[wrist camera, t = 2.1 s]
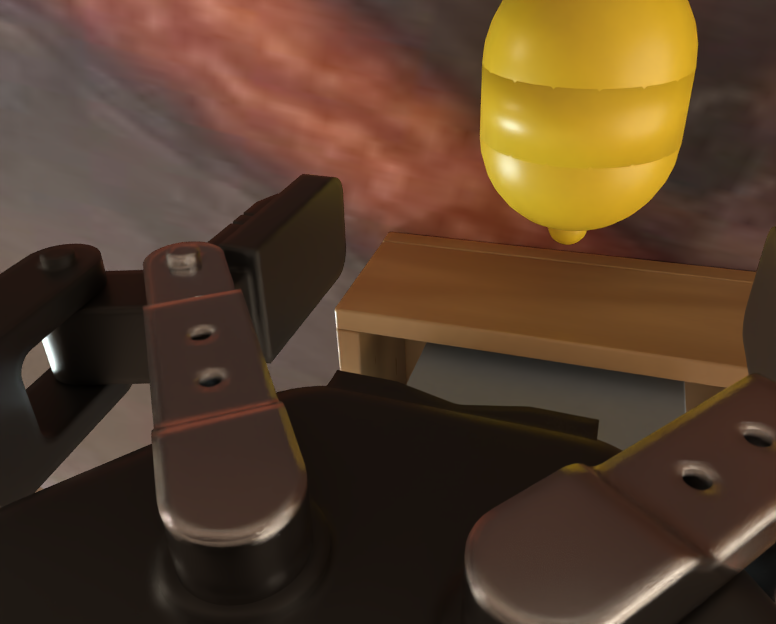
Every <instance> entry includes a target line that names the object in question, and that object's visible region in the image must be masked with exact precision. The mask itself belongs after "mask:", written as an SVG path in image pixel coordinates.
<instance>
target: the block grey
mask: <svg viewBox="0 0 776 624" xmlns="http://www.w3.org/2000/svg"><path fill="white" fill-rule="evenodd" d="M406 385H408V386H411V387H413V388H416V389H418V390H421V391H423V392H426V393H429V394H431V395H434V396H436V397H439V398H442V399H444V400H447V401H449V402H452V403H455V404H461V405H491V406H530V407H535V408H541V409H546V410H551V411H556V412H562V413H567V414H572V415H577V416H583V417H588V418H593V419H599V427H598V436H597V439H599V440H601V441H604V442H606V443H609V444H611V445H613V446H615V447H617V448H619V449H621V450H625V449H627V448H628V447H630V446H632V445H633V444H635V443H637V442H638V441H640V440H642V439H643V438H645V437H646V436H648V435H650V434H651V433H653V432H655V431H656V430H658V429H660V428H661V427H663V426H665V425H666V424H668V423H670V422H671V421H673V420H675V419H676V418H678V417H680V416H681V415H683V414H685V413H686V400H685V382H684V381H678V380H671V379H665V378H658V377H652V376H645V375H638V374H632V373H625V372H619V371H612V370H606V369H599V368H593V367H586V366H580V365H573V364H566V363H560V362H553V361H547V360H540V359H534V358H527V357H521V356H514V355H508V354H501V353H495V352H488V351H481V350H475V349H468V348H462V347H455V346H449V345H442V344H436V343H429V342H427V343H426V345H425V347H424V349H423V351H422V353H421V355H420V357H419V359H418V361H417V363H416V366H415V368H414V370H413V372H412V374H411V376H410V378H409V380H408V382H407V384H406Z"/></svg>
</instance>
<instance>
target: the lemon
mask: <svg viewBox="0 0 776 624" xmlns="http://www.w3.org/2000/svg"><path fill="white" fill-rule="evenodd" d="M697 51H698V38H697V30H696V21H695V19H694V16H693V13H692V10H691V7H690V4H689V1H688V0H503V1H502V3H501V4H500V6H499V8H498V10H497V12H496V14H495V15H494V17H493V19H492V22H491V25H490V28H489V31H488V34H487V37H486V40H485V45H484V53H483V60H482V89H481V118H480V144H481V153H482V157H483V160H484V164H485V167H486V171H487V175H488V176H489V178H490V180H491V182H492V184H493V186H494V188H495V189H496V191H497V192H498V193H499V194H500V196H501V197H502V198H503V199H504V200H505V201H506V202H507V204H508V205H509V206H510V207H511V208H513V209H514V210H515V211H517V212H518V213H519V214H521V215H522V216H524V217H525V218H527V219H528V220H530V221H532V222H534V223H537V224H539V225H542V226H546V227H548V230H549V233H550V235H551V237H552V238H553V239H554V240H555V241H557V242H558V243H561V244H565V245H570V244H574V243H577V242H578V241H580V240H581V239H582V238H583V237H584V236H585V234H586V232H587V230H593V229H598V228H603V227H606V226H609V225H612V224H614V223H616V222H618V221H621V220H623V219H625V218H627V217H629V216H630V215H632V214H634V213H635V212H636V211H638V210H639V209H640V208H641V207H643V206H644V205H645V204H647V203H648V202H649V201H650V200H651V199H652V197H653V196H654V195H655V194H656V193H657V192H658V190H659V189H660V188H661V187H662V186H663V185H664V183H665V182H666V180H667V178H668V176H669V175H670V173H671V171H672V169H673V167H674V166H675V162H676V159H677V156H678V152H679V149H680V146H681V143H682V138H683V133H684V128H685V122H686V117H687V112H688V107H689V102H690V96H691V91H692V86H693V81H694V75H695V70H696V62H697Z"/></svg>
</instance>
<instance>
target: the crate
mask: <svg viewBox="0 0 776 624" xmlns="http://www.w3.org/2000/svg"><path fill="white" fill-rule="evenodd" d="M755 275H756V272H752V271H743V270H733V269H724V268H715V267H706V266H697V265H688V264H679V263H670V262H660V261H651V260H642V259H633V258H624V257H615V256H606V255H597V254H587V253H578V252H569V251H560V250H551V249H542V248H533V247H524V246H514V245H505V244H496V243H487V242H478V241H469V240H460V239H451V238H441V237H432V236H423V235H414V234H405V233H396V232H389V233H388V234H387V236H386V237H385V239H384V240H383V242H382V243H381V245H380V246H379V248H378V249H377V250H376V252H375V253H374V255H373V256H372V257H371V259H370V260H369V262H368V263H367V264H366V266H365V267H364V269H363V270H362V271H361V273H360V274H359V276H358V277H357V278H356V280H355V281H354V283H353V284H352V285H351V287H350V288H349V290H348V291H347V292H346V294H345V295H344V297H343V298H342V299H341V301H340V302H339V304H338V305H337V306H336V308H335V319H336V327H337V330H336V331H337V342H338V354H339V365H340V371H346V372H351V373H356V374H361V375H367V376H372V377H377V378H383V379H388V380H393V381H398V382H400V383H403V384H405V385H406V384H407V382H408V380H409V378H410V376H411V374H412V372H413V370H414V368H415V366H416V363H417V361H418V359H419V357H420V355H421V353H422V351H423V349H424V347H425V345H426V343H427V342H429V343H436V344H442V345H449V346H455V347H462V348H468V349H475V350H481V351H488V352H495V353H501V354H508V355H514V356H521V357H527V358H534V359H540V360H547V361H553V362H560V363H566V364H573V365H580V366H586V367H593V368H599V369H606V370H612V371H619V372H625V373H632V374H638V375H645V376H652V377H658V378H665V379H671V380H678V381H684V382H685V400H686V412H688V411H690V410H691V409H693V408H695V407H696V406H698V405H700V404H701V403H703V402H704V401H706V400H708V399H709V398H711V397H713V396H714V395H716V394H718V393H719V392H721V391H723V390H724V389H726V388H728V387H729V386H731V385H733V384H734V383H736V382H738V381H739V380H741V379H743V378H744V377H746V376H748V375H749V374H748V368H747V362H746V356H745V350H744V344H743V335H742V332H743V321H744V315H745V310H746V306H747V302H748V299H749V295H750V292H751V289H752V285H753V282H754V278H755Z"/></svg>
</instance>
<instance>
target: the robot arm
mask: <svg viewBox="0 0 776 624" xmlns="http://www.w3.org/2000/svg"><path fill="white" fill-rule="evenodd" d="M345 256H346V241H345V222H344V202H343V189H342V184H341V182H340V180H339V179H338V178H336V177H327V176H318V175H309V174H302V175H300V176H299V177H298V178H297V179H296V180H295V181H293V182H292V183H291V184H290V185H289V186H287V187H286V188H285V189H284V190H283V191H282V192H280V193H279V194H275V195H273V196H270V197H268V198H265V199H263V200H261V201H258V202H256V203H255V204H254V205H253V206H251V207H250V208H249V209H248V210H246V211H245V212H244V215H240V216H239V217H238V218H237V219H235V220H234V221H233V224H229V225H228V226H227V227H226V228H225V229H223V230H222V231H221V232H220V233H218V234H217V235H216V236H215V237H214V238H212V239H211V240H210V241H209V242H208V243H206V242H181V243H176V244H171V245H168V246H165V247H162V248H160V249H157V250H155V251H154V252H152V253H151V254H149V255H148V256H147V257H146V258H145V260H144V262H143V270H129V271H105V268H104V264H103V260H102V256H101V253H100V251H99V250H98V249H97V248H95V247H93V246H90V245H85V244H64V245H57V246H53V247H49V248H45V249H42V250H39V251H37V252H35V253H32V254H30V255H29V256H27V257H25V258H24V259H22V260H21V261H19V262H18V263H16V264H15V265H13V266H12V267H10V268H9V269H7V270H6V271H4V272H3V273H1V274H0V624H776V226H773V227H772V228H771V230H770V231H769V234H768V236H767V239H766V242H765V245H764V248H763V252H762V255H761V258H760V262H759V265H758V268H757V272H756V275H755V278H754V282H753V285H752V289H751V292H750V295H749V299H748V302H747V306H746V310H745V315H744V321H743V332H742V335H743V344H744V350H745V356H746V362H747V368H748V374H749V375H748V376H746V377H744V378H743V379H741V380H739V381H738V382H736V383H734V384H733V385H731V386H729V387H728V388H726V389H724V390H723V391H721V392H719V393H718V394H716V395H714V396H713V397H711V398H709V399H708V400H706V401H704V402H703V403H701V404H700V405H698V406H696V407H695V408H693V409H691V410H690V411H688V412H686V413H685V414H683V415H681V416H680V417H678V418H676V419H675V420H673V421H671V422H670V423H668V424H666V425H665V426H663V427H661V428H660V429H658V430H656V431H655V432H653V433H651V434H650V435H648V436H646V437H645V438H643V439H642V440H640V441H638V442H637V443H635V444H633V445H632V446H630V447H628V448H627V449H625V450H621V449H619V448H617V447H615V446H613V445H611V444H609V443H606V442H604V441H601V440H599V439H597V436H598V427H599V419H593V418H588V417H583V416H577V415H572V414H567V413H562V412H556V411H551V410H546V409H541V408H535V407H530V406H491V405H461V404H455V403H452V402H449V401H447V400H444V399H442V398H439V397H436V396H434V395H431V394H429V393H426V392H423V391H421V390H418V389H416V388H413V387H411V386H408V385H405V384H403V383H400V382H398V381H393V380H388V379H383V378H377V377H372V376H367V375H361V374H356V373H351V372H346V371H340V370H337V372H336V373H335V375H334V376H333V378H332V379H331V381H330V382H329V384H328V385H327V386H312V387H302V388H295V389H290V390H285V391H281V392H277V393H276V391H275V388H274V385H273V382H272V379H271V376H270V373H269V370H268V367H267V365H266V363H271V362H272V361H273V360H274V358H275V357H276V356H277V355H278V353H279V352H280V351H281V350H282V348H283V347H284V346H285V345H286V343H287V342H288V341H289V339H290V338H291V337H292V336H293V334H294V333H295V332H296V331H297V329H298V328H299V327H300V326H301V324H302V323H303V322H304V321H305V319H306V318H307V317H308V316H309V314H310V313H311V312H312V310H313V309H314V308H315V307H316V305H317V304H318V303H319V302H320V300H321V299H322V298H323V297H324V295H325V294H326V293H327V292H328V290H329V289H330V288H331V287H332V285H333V284H334V283H335V282H336V280H337V279H338V278H339V276H340V274H341V272H342V270H343V266H344V262H345ZM41 341H42V342H43V345H44V348H45V351H46V354H47V357H48V360H49V363H50V366H51V368H49V369H48V370H47V371H46V372H45V373H44V374H43V375H42V376H40V377H39V378H38V379H37V380H36V381H35V382H34V383H33V384H32V385H30V386H29V387H28V388H27V389H26V390H25V387H24V384H23V381H22V377H21V369H22V364H23V361H24V359H25V357H26V355H27V354H28V352H29V351H30V350H31V349H32V348H33V347H35V346H36V345H37V344H38V343H39V342H41ZM141 383H150V391H151V402H152V413H153V424H154V429H153V430H152V432H151V438H152V444H150V445H148V446H145V447H143V448H141V449H138V450H136V451H133V452H131V453H129V454H126V455H124V456H122V457H119V458H117V459H114V460H112V461H110V462H107V463H105V464H102V465H100V466H98V467H95V468H93V469H91V470H88V471H86V472H83V473H81V474H79V475H76V476H74V477H72V478H69V479H67V480H64V481H62V482H60V483H57V484H55V485H53V486H50V487H48V488H45V489H43V490H41V491H38V492H36V490H37V489H38V488H39V487H40V486H41V485H42V484H43V483H44V482H45V481H46V480H47V479H48V477H49V476H50V475H51V474H52V473H53V472H54V471H55V470H56V469H57V468H58V467H59V465H60V464H61V463H62V462H63V461H64V460H65V459H66V458H67V457H68V456H69V455H70V453H71V452H72V451H73V450H74V449H75V448H76V447H77V446H78V445H79V444H80V443H81V442H82V440H83V439H84V438H85V437H86V436H87V435H88V434H89V433H90V432H91V431H92V430H93V428H94V427H95V426H96V425H97V424H98V423H99V422H100V421H101V420H102V419H103V418H104V417H105V415H106V414H107V413H108V412H109V411H110V410H111V409H112V408H113V407H114V406H115V405H116V403H117V402H118V401H119V400H120V399H121V398H122V397H123V396H124V395H125V394H126V393H127V391H128V390H129V389H130V387H131V385H132V384H141ZM35 492H36V493H35Z"/></svg>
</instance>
